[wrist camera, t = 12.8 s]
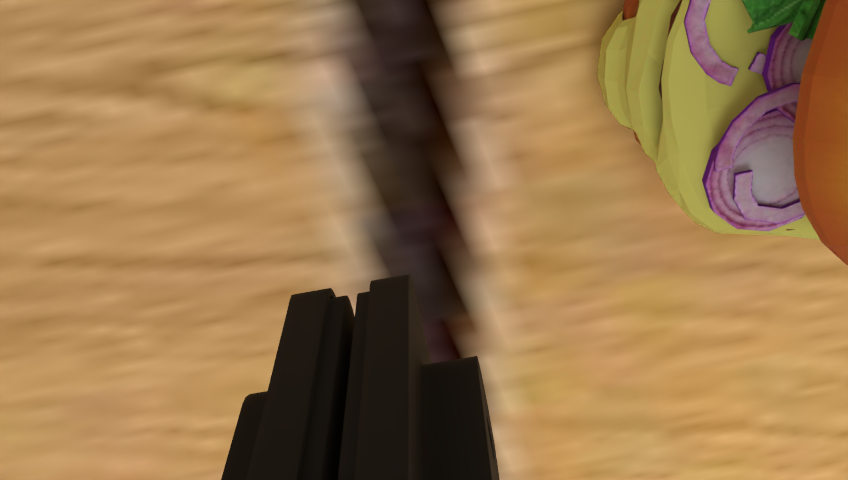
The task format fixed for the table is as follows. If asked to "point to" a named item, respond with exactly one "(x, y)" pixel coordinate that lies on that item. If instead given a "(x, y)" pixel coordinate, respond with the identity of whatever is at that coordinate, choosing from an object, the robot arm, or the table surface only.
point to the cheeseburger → (739, 109)
